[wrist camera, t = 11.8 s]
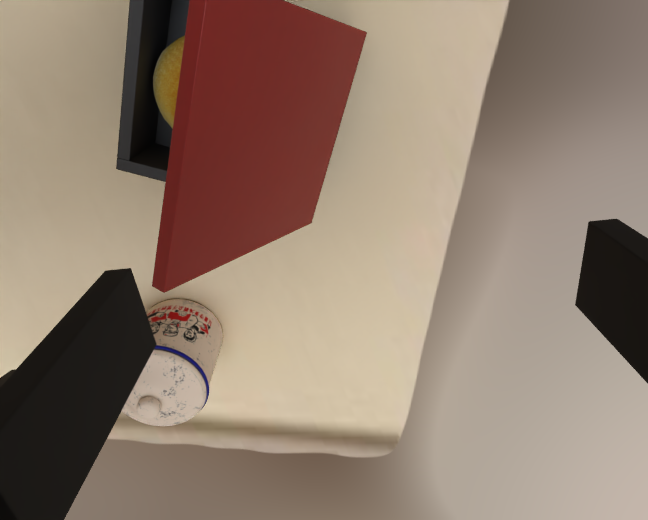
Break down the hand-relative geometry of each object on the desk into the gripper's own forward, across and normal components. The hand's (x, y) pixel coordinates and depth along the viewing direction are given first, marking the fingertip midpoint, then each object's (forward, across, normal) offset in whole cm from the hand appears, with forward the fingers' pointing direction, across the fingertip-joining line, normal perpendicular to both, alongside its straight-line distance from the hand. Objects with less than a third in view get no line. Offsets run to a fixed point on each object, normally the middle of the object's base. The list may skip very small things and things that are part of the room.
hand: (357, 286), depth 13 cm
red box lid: (+15, -4, +2) cm, 15 cm away
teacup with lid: (+29, -20, -20) cm, 40 cm away
